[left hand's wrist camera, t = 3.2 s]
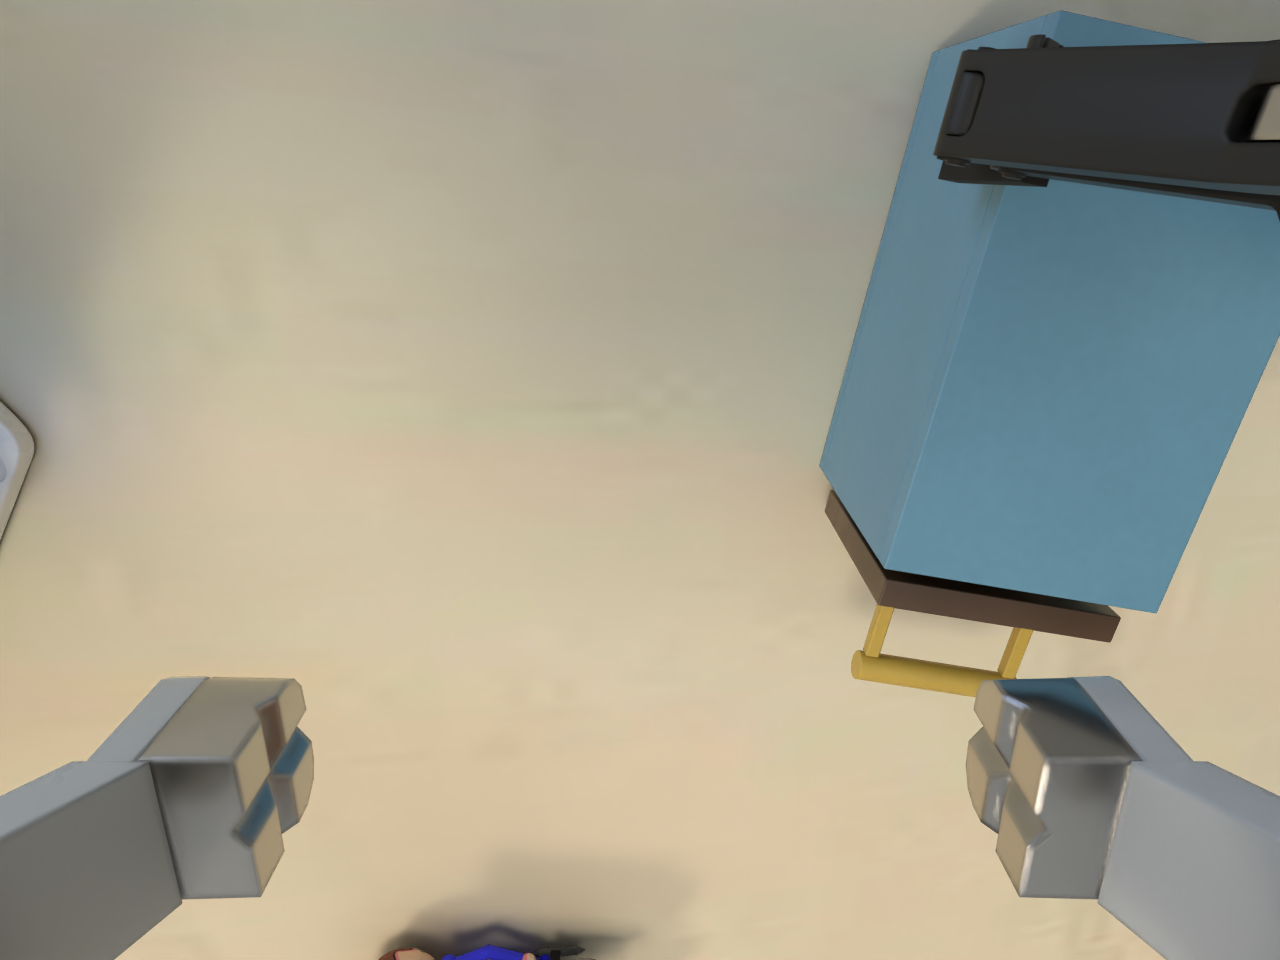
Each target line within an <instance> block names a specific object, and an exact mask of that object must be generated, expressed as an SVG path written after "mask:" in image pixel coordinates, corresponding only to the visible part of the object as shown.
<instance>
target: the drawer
mask: <svg viewBox="0 0 1280 960" xmlns="http://www.w3.org/2000/svg"><path fill="white" fill-rule="evenodd" d="M825 513H826V515H827V516H828V518H829V520H830V522H831V523H832V525H833V527H834V529H835V530H836V532H837V534H838V536H839V537H840V539H841V541H842V543H843V544H844V546H845V548H846V550H847V551H848V553H849V555H850V557H851V558H852V560H853V562H854V564H855V565H856V567H857V569H858V571H859V572H860V574H861V576H862V578H863V579H864V581H865V583H866V585H867V586H868V588H869V590H870V592H871V593H872V595H873V597H874V599H875V600H876V602H877V606H876V609H875V612H874V616H873V619H872V622H871V625H870V628H869V631H868V635H867V638H866V641H865V644H864V647H863V651H860V650H857V651H856V652H855V653H854V655H853V658H852V663H851V672H852V676H853V677H854V678H855V679H860V680H866V681H873V682H879V683H886V684H892V685H899V686H905V687H912V688H918V689H925V690H931V691H938V692H944V693H951V694H957V695H964V696H970V697H976V694H977V690H978V688H979V686H980V684H981V682H982V680H1003V679H1016V677H1015V676H1016V673H1017V671H1018V668H1019V665H1020V663H1021V660H1022V658H1023V655H1024V653H1025V650H1026V648H1027V645H1028V642H1029V640H1030V637H1031V635H1032V632H1033V630H1035V631H1041V632H1047V633H1053V634H1060V635H1066V636H1072V637H1078V638H1085V639H1091V640H1097V641H1103V642H1111V640H1112V638H1113V635H1114V633H1115V631H1116V628H1117V626H1118V624H1119V621H1120V619H1121V618H1120V616H1118V615H1117V614H1116V613H1115V612H1114V611H1113V610H1112V609H1111V608H1110V607H1109V606H1108V605H1102V604H1096V603H1090V602H1084V601H1078V600H1072V599H1066V598H1060V597H1054V596H1048V595H1042V594H1035V593H1029V592H1023V591H1017V590H1011V589H1005V588H999V587H993V586H987V585H981V584H975V583H969V582H963V581H957V580H950V579H944V578H938V577H932V576H926V575H920V574H914V573H908V572H902V571H896V570H890V569H885V568H884V567H883V565H882V564H881V562H880V561H879V559H878V558H877V556H876V555H875V553H874V552H873V550H872V548H871V547H870V545H869V544H868V542H867V541H866V539H865V537H864V536H863V534H862V533H861V531H860V530H859V528H858V526H857V525H856V523H855V522H854V520H853V519H852V517H851V515H850V514H849V512H848V511H847V509H846V508H845V506H844V504H843V503H842V501H841V500H840V498H839V497H838V495H837V493H836V492H835V491H833V490H831V491H830V494H829V498H828V501H827V505H826V509H825ZM894 608H898V609H904V610H911V611H917V612H923V613H929V614H935V615H942V616H948V617H954V618H960V619H966V620H973V621H979V622H985V623H991V624H998V625H1004V626H1010V627H1014V628H1013V631H1012V633H1011V636H1010V638H1009V641H1008V644H1007V646H1006V649H1005V652H1004V654H1003V657H1002V659H1001V662H1000V665H999V667H998V672H995V671H989V670H982V669H976V668H969V667H963V666H957V665H950V664H944V663H937V662H931V661H925V660H918V659H912V658H905V657H899V656H892V655H886V654H880V651H881V648H882V645H883V642H884V638H885V635H886V632H887V629H888V626H889V623H890V620H891V617H892V614H893V611H894Z"/></svg>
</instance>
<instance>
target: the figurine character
mask: <svg viewBox="0 0 1280 960" xmlns="http://www.w3.org/2000/svg"><path fill="white" fill-rule="evenodd" d="M583 951H585V949H582V948H580V947H578V946H567V947H554V948H540V949H539V950H537V951H535V952H534V953H532V954H531V953H526V954H523V953H520V952H516V951H512V950H508V949H504V948H500V947H496V946H492V945H490V944H489V945H487V946H484V947H481V948H479V949H476V950H474V951H471V952H468V953H466V954H463V955H460V956H458V957H455V956H454V955H451V954H448V955H445V956H444V957H443V958H442V960H487V959H491V960H537V957H539V958H540V959H539V960H560V956H573V955H578V954H580V953H581V952H583ZM534 955H535V956H537V957H535V956H534ZM379 960H435V959H434V958H433V957H432V956H431V955H429V954H428V953H427V952H425V951H423V950H420V949H417V948H412V947H405V948H399V949H396V950H393V951H391V952H389V953H387V954H385V955H384V956H382V957H381V958H380V959H379ZM575 960H595V959H590V958H580V959H575Z"/></svg>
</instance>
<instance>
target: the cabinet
mask: <svg viewBox="0 0 1280 960" xmlns="http://www.w3.org/2000/svg"><path fill="white" fill-rule="evenodd" d="M1040 34H1044V35H1046V37H1049V38H1051V39H1053V40H1054V41H1056V42H1058V43H1059V44H1060V45H1063V46H1064V47H1088V46H1123V45H1159V44H1194V43H1205V42H1201V41H1196V40H1192V39H1187V38H1183V37H1178V36H1174V35H1169V34H1165V33H1160V32H1156V31H1151V30H1147V29H1142V28H1138V27H1133V26H1129V25H1125V24H1120V23H1116V22H1111V21H1107V20H1102V19H1098V18H1093V17H1089V16H1084V15H1080V14H1075V13H1071V12H1066V11H1062V10H1061V11H1057V12H1054V13H1051V14H1048V15H1044V16H1041V17H1038V18H1035V19H1032V20H1029V21H1026V22H1023V23H1020V24H1017V25H1014V26H1011V27H1008V28H1005V29H1002V30H999V31H996V32H993V33H990V34H987V35H984V36H981V37H978V38H975V39H972V40H969V41H966V42H963V43H960V44H957V45H954V46H951V47H948V48H945V49H942V50H940V51H936V52H933V54H932V57H931V61H930V64H929V68H928V72H927V75H926V79H925V83H924V86H923V90H922V93H921V97H920V101H919V104H918V108H917V112H916V115H915V119H914V123H913V126H912V130H911V134H910V137H909V141H908V145H907V148H906V152H905V155H904V159H903V163H902V166H901V170H900V174H899V177H898V181H897V185H896V188H895V192H894V196H893V199H892V203H891V207H890V210H889V214H888V217H887V221H886V225H885V228H884V232H883V236H882V239H881V243H880V247H879V250H878V254H877V258H876V261H875V265H874V269H873V272H872V276H871V280H870V283H869V287H868V290H867V294H866V298H865V301H864V305H863V309H862V312H861V316H860V320H859V323H858V327H857V331H856V334H855V338H854V342H853V345H852V349H851V352H850V356H849V360H848V363H847V367H846V371H845V374H844V378H843V382H842V385H841V389H840V393H839V396H838V400H837V404H836V407H835V411H834V415H833V418H832V422H831V425H830V429H829V433H828V436H827V440H826V444H825V447H824V451H823V455H822V458H821V462H820V468H821V469H822V471H823V473H824V475H825V476H826V478H827V479H828V481H829V482H830V484H831V486H832V487H833V489H834V490H835V492H836V493H837V495H838V497H839V498H840V500H841V501H842V503H843V504H844V506H845V508H846V509H847V511H848V512H849V514H850V515H851V517H852V519H853V520H854V522H855V523H856V525H857V526H858V528H859V530H860V531H861V533H862V534H863V536H864V537H865V539H866V541H867V542H868V544H869V545H870V547H871V548H872V550H873V552H874V553H875V555H876V556H877V558H878V559H879V561H880V562H881V564H882V565H883V567H884V568H885V569H890V570H896V571H902V572H908V573H914V574H920V575H926V576H932V577H938V578H944V579H950V580H957V581H963V582H969V583H975V584H981V585H987V586H993V587H999V588H1005V589H1011V590H1017V591H1023V592H1029V593H1035V594H1042V595H1048V596H1054V597H1060V598H1066V599H1072V600H1078V601H1084V602H1090V603H1096V604H1102V605H1108V606H1114V607H1121V608H1127V609H1133V610H1139V611H1145V612H1151V613H1157V611H1158V609H1159V606H1160V604H1161V602H1162V600H1163V597H1164V595H1165V593H1166V591H1167V588H1168V586H1169V584H1170V582H1171V579H1172V577H1173V575H1174V573H1175V570H1176V568H1177V566H1178V564H1179V561H1180V559H1181V557H1182V554H1183V552H1184V550H1185V548H1186V545H1187V543H1188V541H1189V539H1190V536H1191V534H1192V532H1193V530H1194V527H1195V525H1196V523H1197V521H1198V518H1199V516H1200V514H1201V512H1202V509H1203V507H1204V505H1205V503H1206V500H1207V498H1208V496H1209V493H1210V491H1211V489H1212V487H1213V484H1214V482H1215V480H1216V478H1217V475H1218V473H1219V471H1220V469H1221V466H1222V464H1223V462H1224V460H1225V457H1226V455H1227V453H1228V451H1229V448H1230V446H1231V444H1232V441H1233V439H1234V437H1235V435H1236V432H1237V430H1238V428H1239V426H1240V423H1241V421H1242V419H1243V417H1244V414H1245V412H1246V410H1247V408H1248V405H1249V403H1250V401H1251V399H1252V396H1253V394H1254V392H1255V390H1256V387H1257V385H1258V383H1259V380H1260V378H1261V376H1262V374H1263V371H1264V369H1265V367H1266V365H1267V362H1268V360H1269V358H1270V356H1271V353H1272V351H1273V349H1274V347H1275V344H1276V342H1277V340H1278V338H1279V335H1280V221H1279V218H1278V215H1277V211H1273V210H1266V209H1259V208H1252V207H1245V206H1238V205H1231V204H1223V203H1216V202H1209V201H1202V200H1195V199H1188V198H1181V197H1173V196H1166V195H1159V194H1152V193H1145V192H1138V191H1131V190H1124V189H1116V188H1109V187H1102V186H1095V185H1088V184H1081V183H1074V182H1066V181H1059V180H1052V179H1049V182H1048V185H1047V187H1033V186H1011V185H988V184H966V183H956V182H951V181H946V180H941V179H938V177H939V173H940V170H941V166H942V163H943V160H939V159H937V156H934V155H933V152H934V149H935V145H936V142H937V138H938V134H939V131H940V127H941V124H942V120H943V117H944V113H945V110H946V106H947V102H948V99H949V95H950V92H951V88H952V85H953V81H954V77H955V74H956V70H957V67H958V63H959V60H960V56H961V52H962V51H964V50H967V49H972V50H978V47H991V48H995V49H1017V48H1026V47H1027V43H1028V40H1029V37H1030V36H1032V35H1040Z"/></svg>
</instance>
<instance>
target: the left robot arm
mask: <svg viewBox="0 0 1280 960" xmlns="http://www.w3.org/2000/svg"><path fill="white" fill-rule="evenodd" d="M33 455H34V441H33V438H32V436H31V434H30V433H29V431H28V430H27V428H26V427H25V426H24V425H23V424H22V422H21V421H20V420H19V419H18V418H17V417H16V416H15V415H14V414H13V413H12V412H11V411H10V410H9V409H8V408H7V407H6V406H5V405H4V404H3V403H2V402H0V540H1V537H2V535H3V532H4V530H5V527H6V525H7V522H8V519H9V517H10V514H11V512H12V509H13V507H14V504H15V501H16V499H17V496H18V494H19V491H20V489H21V486H22V483H23V481H24V478H25V476H26V473H27V471H28V468H29V465H30V463H31V460H32V458H33ZM305 711H306V705H305V700H304V695H303V690H302V686H301V685H300V684H299V683H298V682H297V681H296V680H295V679H289V678H240V677H212V678H210V677H170V678H166V679H163V680H161V681H160V682H159V683H158V684H157V685H156V686H155V687H154V688H153V689H152V690H151V691H150V692H149V694H148V695H147V696H146V697H145V698H144V699H143V700H142V701H141V702H140V703H139V704H138V706H137V707H136V708H135V709H134V710H133V711H132V712H131V713H130V714H129V715H128V716H127V718H126V719H125V720H124V721H123V722H122V723H121V724H120V725H119V726H118V727H117V728H116V730H115V731H114V732H113V733H112V734H111V735H110V736H109V737H108V738H107V739H106V740H105V742H104V743H103V744H102V745H101V746H100V747H99V748H98V749H97V750H96V751H95V752H94V754H93V755H92V756H91V757H90V758H89V759H88V760H87V761H86V762H70V763H68V764H66V765H64V766H62V767H60V768H58V769H56V770H54V771H52V772H50V773H48V774H46V775H44V776H41V777H39V778H37V779H35V780H33V781H31V782H29V783H27V784H25V785H23V786H21V787H19V788H17V789H15V790H13V791H10V792H8V793H6V794H4V795H2V796H0V960H114V959H115V958H117V957H118V956H119V955H120V954H121V953H123V952H124V951H125V950H126V949H127V948H129V947H130V946H131V945H132V944H134V943H135V942H136V941H137V940H138V939H140V938H141V937H142V936H143V935H145V934H146V933H147V932H148V931H149V930H151V929H152V928H153V927H154V926H155V925H157V924H158V923H159V922H160V921H162V920H163V919H164V918H165V917H166V916H168V915H169V914H170V913H171V912H172V911H174V910H175V909H176V908H177V907H179V906H180V905H181V904H182V899H209V898H243V897H261V896H262V894H263V892H264V890H265V888H266V886H267V884H268V882H269V880H270V878H271V876H272V874H273V872H274V870H275V868H276V866H277V864H278V863H279V861H280V859H281V857H282V855H283V853H284V846H283V840H282V834H283V833H284V832H285V831H287V830H288V829H290V828H291V827H293V826H294V825H295V824H297V823H298V822H299V821H300V819H301V817H302V815H303V813H304V811H305V809H306V807H307V805H308V802H309V797H310V793H311V788H312V784H313V779H314V756H313V749H312V742H311V740H310V739H309V738H308V737H307V736H306V735H305V734H304V733H303V732H302V731H301V730H300V729H299V728H298V727H297V725H298V723H299V721H300V720H301V718H302V716H303V714H304V713H305ZM974 711H975V713H976V714H977V716H978V718H979V720H980V721H981V723H982V725H983V727H982V728H981V729H980V730H979V731H978V732H977V733H976V734H975V735H974V736H973V737H972V738H971V739H970V740H969V742H968V751H967V759H966V773H967V784H968V791H969V794H970V797H971V801H972V804H973V807H974V809H975V811H976V813H977V815H978V817H979V819H980V821H981V822H982V823H983V824H985V825H986V826H987V827H989V828H990V829H992V830H993V831H995V832H996V833H998V840H997V846H996V853H997V855H998V857H999V859H1000V861H1001V862H1002V864H1003V866H1004V868H1005V870H1006V872H1007V874H1008V876H1009V878H1010V880H1011V882H1012V884H1013V886H1014V888H1015V889H1016V891H1017V893H1018V895H1019V897H1035V898H1070V899H1098V904H1099V905H1101V906H1102V907H1103V908H1104V909H1106V910H1107V911H1108V912H1109V913H1110V914H1112V915H1113V916H1114V917H1115V918H1116V919H1118V920H1119V921H1120V922H1121V923H1122V924H1124V925H1125V926H1126V927H1127V928H1129V929H1130V930H1131V931H1132V932H1133V933H1135V934H1136V935H1137V936H1138V937H1139V938H1141V939H1142V940H1143V941H1144V942H1146V943H1147V944H1148V945H1149V946H1150V947H1152V948H1153V949H1154V950H1155V951H1156V952H1158V953H1159V954H1160V955H1161V956H1163V957H1164V958H1165V959H1166V960H1280V796H1278V795H1276V794H1274V793H1271V792H1269V791H1267V790H1265V789H1263V788H1261V787H1259V786H1257V785H1255V784H1253V783H1251V782H1249V781H1247V780H1245V779H1243V778H1241V777H1238V776H1236V775H1234V774H1232V773H1230V772H1228V771H1226V770H1224V769H1222V768H1220V767H1218V766H1216V765H1214V764H1212V763H1210V762H1194V761H1193V760H1192V759H1191V758H1190V757H1189V756H1188V755H1187V754H1186V752H1185V751H1184V750H1183V749H1182V748H1181V747H1180V746H1179V745H1178V744H1177V743H1176V742H1175V740H1174V739H1173V738H1172V737H1171V736H1170V735H1169V734H1168V733H1167V732H1166V731H1165V730H1164V728H1163V727H1162V726H1161V725H1160V724H1159V723H1158V722H1157V721H1156V720H1155V719H1154V718H1153V716H1152V715H1151V714H1150V713H1149V712H1148V711H1147V710H1146V709H1145V708H1144V707H1143V705H1142V704H1141V703H1140V702H1139V701H1138V700H1137V699H1136V698H1135V697H1134V696H1133V695H1132V693H1131V692H1130V691H1129V690H1128V689H1127V688H1126V687H1125V686H1124V685H1123V684H1122V683H1121V681H1119V680H1117V679H1115V678H1112V677H1110V676H1099V677H1070V678H1052V679H1003V680H982V682H981V684H980V686H979V688H978V690H977V694H976V699H975V705H974Z"/></svg>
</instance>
